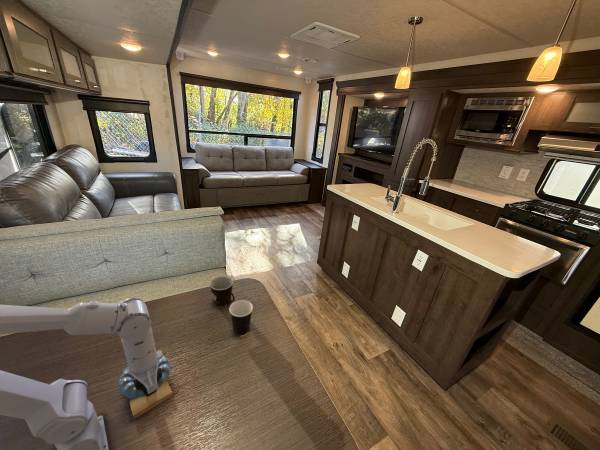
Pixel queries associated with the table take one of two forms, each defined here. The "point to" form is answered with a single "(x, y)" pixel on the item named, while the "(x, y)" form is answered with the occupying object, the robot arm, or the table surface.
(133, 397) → the blue beaded bracelet
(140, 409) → the hook stand
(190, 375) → the table surface
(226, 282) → the coffee mug
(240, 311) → the dixie cup
